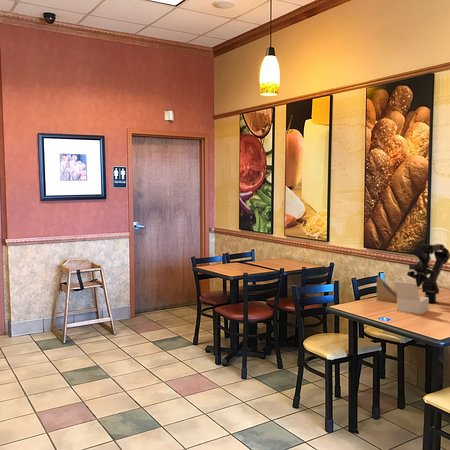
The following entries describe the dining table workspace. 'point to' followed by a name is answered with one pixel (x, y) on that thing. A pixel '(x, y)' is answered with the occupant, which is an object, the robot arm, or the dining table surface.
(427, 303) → the carton
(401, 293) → the carton flap
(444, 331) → the dining table surface
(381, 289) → the sandwich container
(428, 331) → the dining table surface
